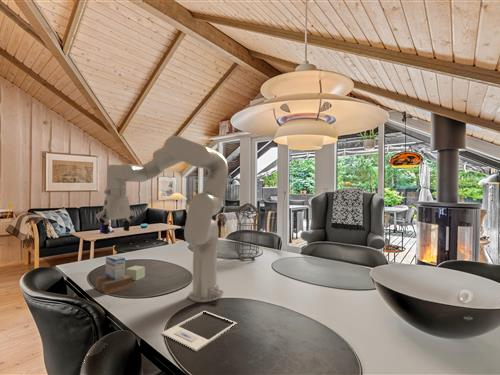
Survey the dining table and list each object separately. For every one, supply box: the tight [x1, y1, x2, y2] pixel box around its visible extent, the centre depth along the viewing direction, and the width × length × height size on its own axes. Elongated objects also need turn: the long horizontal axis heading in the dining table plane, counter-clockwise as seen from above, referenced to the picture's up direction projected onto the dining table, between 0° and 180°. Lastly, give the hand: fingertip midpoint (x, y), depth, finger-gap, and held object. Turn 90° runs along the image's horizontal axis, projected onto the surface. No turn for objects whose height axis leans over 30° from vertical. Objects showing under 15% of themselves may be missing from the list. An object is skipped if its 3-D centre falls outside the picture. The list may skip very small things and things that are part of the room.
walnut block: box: [95, 273, 134, 296], centre depth 118 cm, size 11×11×5 cm
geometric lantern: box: [233, 202, 264, 262], centre depth 169 cm, size 16×16×35 cm
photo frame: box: [161, 310, 238, 352], centre depth 84 cm, size 15×1×18 cm
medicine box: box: [104, 255, 126, 280], centre depth 118 cm, size 8×4×9 cm, turn 57°
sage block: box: [125, 265, 146, 281], centre depth 131 cm, size 6×6×5 cm
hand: (116, 232), depth 118 cm, fingers open, 9 cm apart
